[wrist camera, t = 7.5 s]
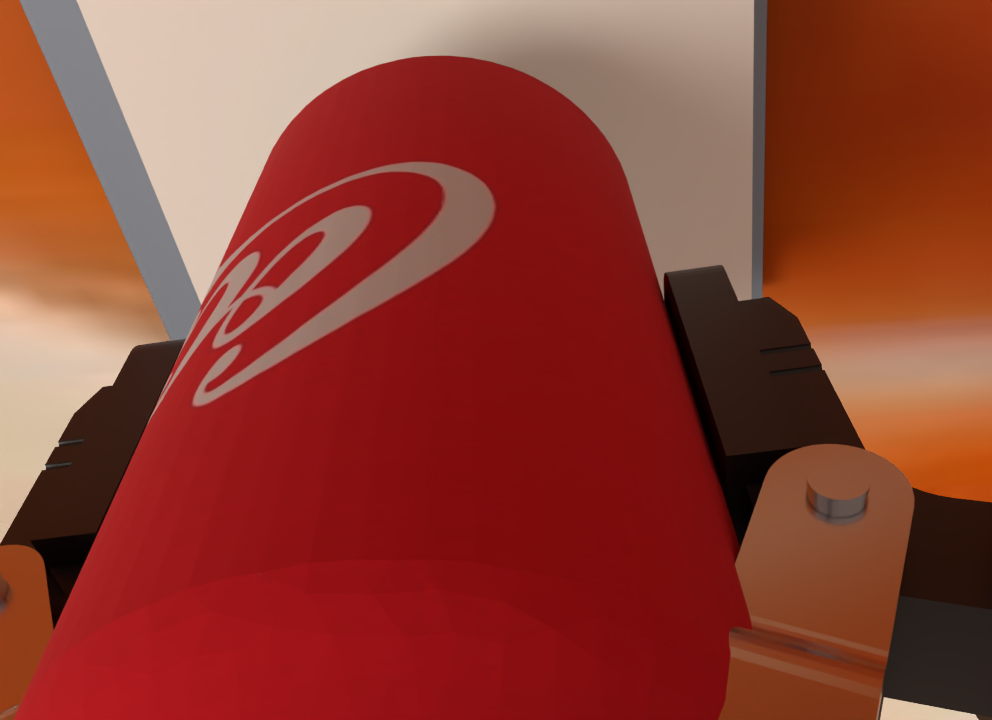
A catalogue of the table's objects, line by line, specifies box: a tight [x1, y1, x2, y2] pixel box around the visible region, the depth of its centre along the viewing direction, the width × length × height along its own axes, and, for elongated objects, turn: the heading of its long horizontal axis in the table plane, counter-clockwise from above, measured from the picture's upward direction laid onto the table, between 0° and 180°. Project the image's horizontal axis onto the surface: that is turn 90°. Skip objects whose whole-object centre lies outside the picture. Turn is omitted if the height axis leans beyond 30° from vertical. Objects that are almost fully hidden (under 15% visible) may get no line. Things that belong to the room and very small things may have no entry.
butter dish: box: [20, 0, 767, 341], centre depth 19 cm, size 16×16×6 cm
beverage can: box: [14, 55, 752, 720], centre depth 11 cm, size 6×6×12 cm
